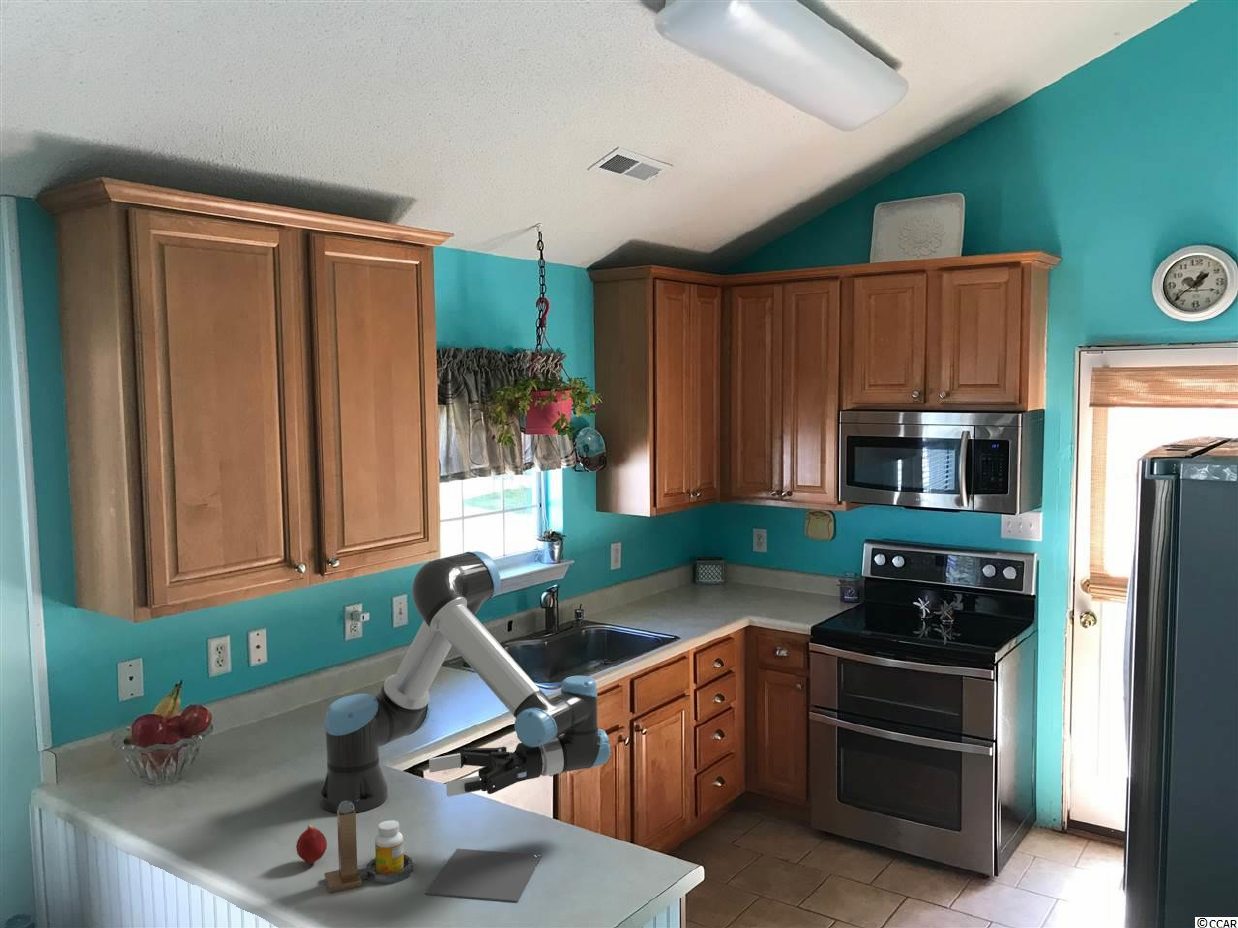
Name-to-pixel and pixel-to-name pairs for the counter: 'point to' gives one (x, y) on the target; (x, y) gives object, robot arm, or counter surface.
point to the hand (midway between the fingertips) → (437, 777)
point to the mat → (485, 875)
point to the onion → (311, 845)
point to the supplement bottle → (389, 848)
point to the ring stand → (348, 857)
